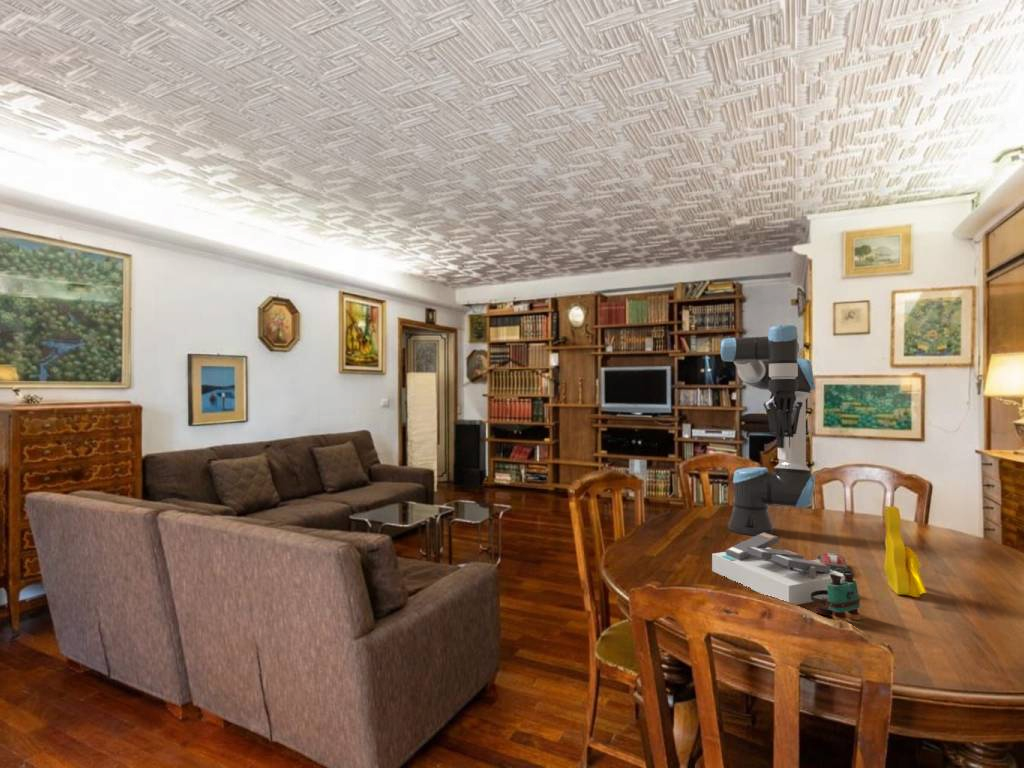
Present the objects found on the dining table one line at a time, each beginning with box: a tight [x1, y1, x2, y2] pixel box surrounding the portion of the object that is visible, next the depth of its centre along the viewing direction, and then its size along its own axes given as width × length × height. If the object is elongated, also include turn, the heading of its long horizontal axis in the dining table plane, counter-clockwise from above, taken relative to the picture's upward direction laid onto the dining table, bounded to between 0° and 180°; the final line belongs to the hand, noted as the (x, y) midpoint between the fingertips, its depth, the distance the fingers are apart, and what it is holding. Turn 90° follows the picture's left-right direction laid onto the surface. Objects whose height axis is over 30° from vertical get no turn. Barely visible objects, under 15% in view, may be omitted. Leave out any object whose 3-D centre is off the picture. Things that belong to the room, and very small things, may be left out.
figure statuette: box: [883, 506, 928, 598], centre depth 133 cm, size 18×8×22 cm, turn 160°
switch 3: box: [771, 554, 831, 573], centre depth 133 cm, size 15×5×2 cm, turn 110°
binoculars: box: [811, 569, 861, 622], centre depth 120 cm, size 9×11×10 cm
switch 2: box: [747, 547, 804, 559], centre depth 140 cm, size 15×5×2 cm, turn 110°
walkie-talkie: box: [813, 552, 849, 574], centre depth 149 cm, size 9×4×20 cm
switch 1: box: [724, 532, 780, 560], centre depth 148 cm, size 15×5×2 cm, turn 111°
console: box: [711, 540, 845, 606], centre depth 140 cm, size 20×26×8 cm
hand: (783, 459), depth 150 cm, fingers closed
